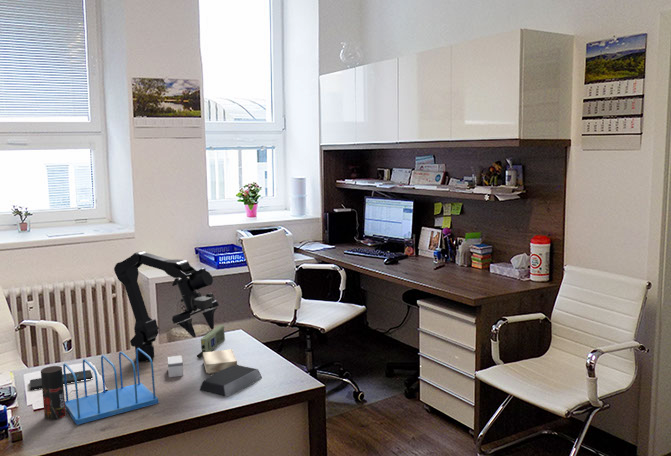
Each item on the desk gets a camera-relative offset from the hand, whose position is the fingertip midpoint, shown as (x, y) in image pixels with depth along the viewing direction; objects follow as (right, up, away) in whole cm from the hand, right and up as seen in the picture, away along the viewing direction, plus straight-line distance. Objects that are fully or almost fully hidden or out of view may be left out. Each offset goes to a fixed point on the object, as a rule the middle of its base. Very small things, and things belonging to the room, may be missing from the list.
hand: (203, 333), depth 227 cm
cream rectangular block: (+6, -13, +2) cm, 14 cm away
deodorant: (-38, -19, -38) cm, 57 cm away
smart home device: (-49, -16, -9) cm, 52 cm away
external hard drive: (+13, -16, -14) cm, 25 cm away
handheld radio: (-2, -11, +24) cm, 26 cm away
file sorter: (-23, -18, -30) cm, 42 cm away
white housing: (-10, -14, -2) cm, 17 cm away
